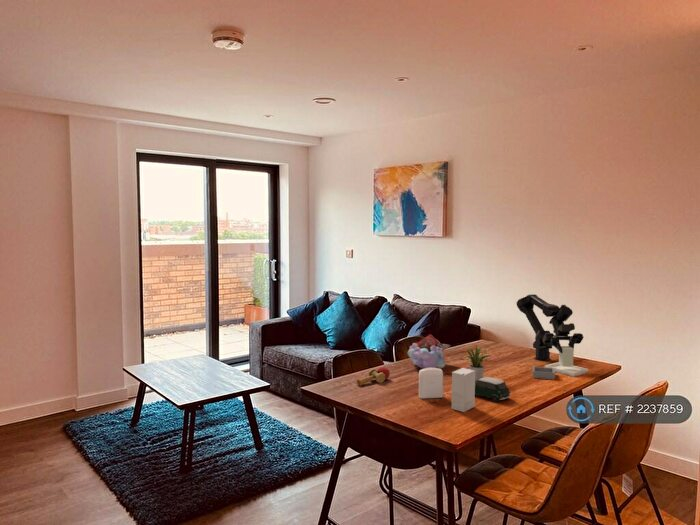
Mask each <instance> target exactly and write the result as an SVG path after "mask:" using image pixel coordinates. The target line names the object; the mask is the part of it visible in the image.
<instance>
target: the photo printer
mask: <svg viewBox="0 0 700 525" xmlns="http://www.w3.org/2000/svg"><path fill="white" fill-rule="evenodd" d="M418 397H419V398H418V399H436V398H437V399H440V398H443V397H444V372H443V370H442V368H441V369H438V368H421V369H420V370H419V371H418Z"/></svg>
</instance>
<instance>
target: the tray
mask: <svg viewBox="0 0 700 525" xmlns="http://www.w3.org/2000/svg"><path fill="white" fill-rule="evenodd" d="M543 367H544V368H554V372H555V373H558V374H561V375H565V376H569V377H573V378H575V377H579V376H581V375H585V374H589V369H588V368H584V367H581V366H577V365H573V367H563V366H561V365H560V364H559V361H558V362H553V363H549V364H546V365H544V366H543Z"/></svg>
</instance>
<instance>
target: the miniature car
mask: <svg viewBox="0 0 700 525" xmlns="http://www.w3.org/2000/svg"><path fill="white" fill-rule="evenodd" d="M475 395H476V396H482V397H484V398H485V397H486V398H491V401H492V402H493V403H496V404H497V403H499V401H501V400H503V401H504V400H505V399H508V398H510V397H511V396H512V394H511V391H510V389H509V387H507V384H506V382H505V380H502V379H499V378H496V377H491V376H485V377H484V376H483V378H480V379H479V380H478V381H475Z"/></svg>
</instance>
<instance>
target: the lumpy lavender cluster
mask: <svg viewBox="0 0 700 525" xmlns="http://www.w3.org/2000/svg"><path fill="white" fill-rule="evenodd" d="M450 347H452V345H451V344H446V343H441V342H440V341H439V340H438V339H436V337H435V336H434V335H432V334H431V333H430V334H428V335H426V337H423V338H422V339H421V340H419V341H418V342H413V343H412V345H410V346H409V349H408V351H407V355H408V357H409V358H410V359H411V361H412V363H413V365H416V366H417V367H419V368H420V369H425V368H438V369H441V370H442V369H443V368H445V365H446V360H445V358H444V357H445V354H444V352H443V351H445V350H446V349H448V348H450Z"/></svg>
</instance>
